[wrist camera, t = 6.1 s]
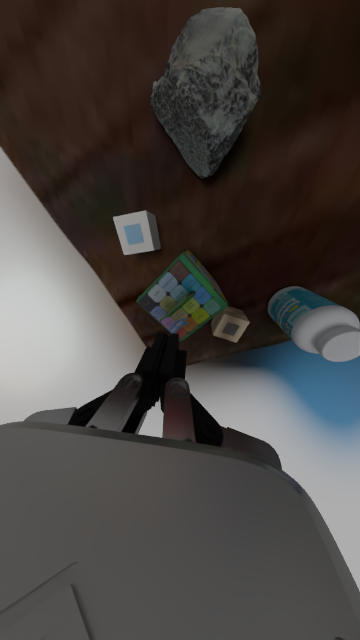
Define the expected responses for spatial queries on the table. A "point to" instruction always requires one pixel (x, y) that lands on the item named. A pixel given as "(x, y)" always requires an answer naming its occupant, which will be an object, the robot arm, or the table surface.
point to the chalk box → (183, 296)
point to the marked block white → (137, 232)
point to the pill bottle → (316, 323)
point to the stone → (208, 86)
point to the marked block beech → (229, 324)
